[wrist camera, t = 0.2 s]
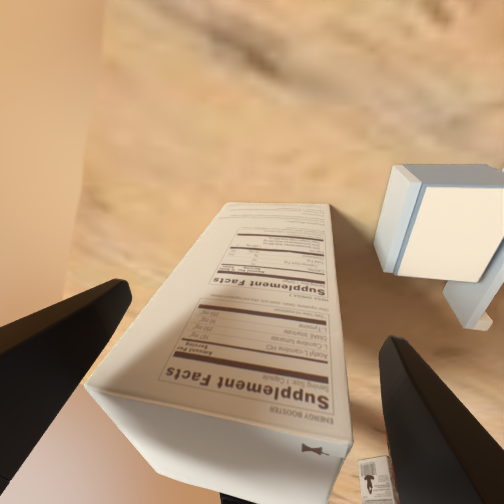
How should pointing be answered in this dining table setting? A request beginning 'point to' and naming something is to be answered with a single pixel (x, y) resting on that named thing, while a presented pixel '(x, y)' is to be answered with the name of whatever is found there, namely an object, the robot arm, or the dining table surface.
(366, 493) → the coffee box
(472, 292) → the flap
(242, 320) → the supplement box
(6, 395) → the robot arm
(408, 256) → the carton
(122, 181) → the dining table surface
